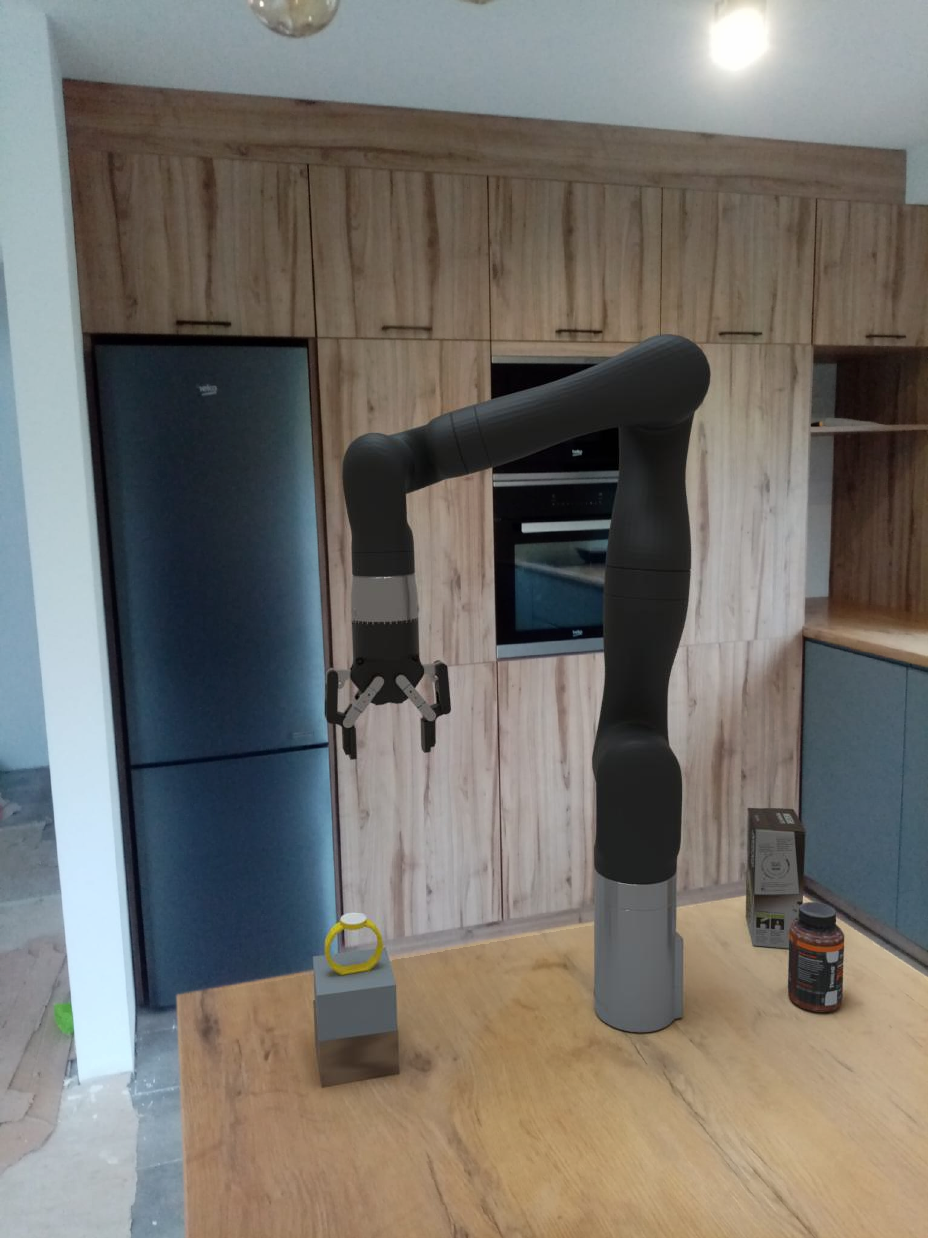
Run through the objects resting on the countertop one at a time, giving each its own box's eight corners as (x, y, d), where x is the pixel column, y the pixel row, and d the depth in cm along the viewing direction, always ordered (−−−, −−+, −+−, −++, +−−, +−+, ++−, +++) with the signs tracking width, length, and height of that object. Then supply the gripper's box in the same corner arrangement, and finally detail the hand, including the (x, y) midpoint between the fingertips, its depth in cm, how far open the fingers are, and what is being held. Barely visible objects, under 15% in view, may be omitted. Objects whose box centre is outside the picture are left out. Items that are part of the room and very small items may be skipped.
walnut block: (386, 1031, 99) (385, 989, 99) (399, 1075, 92) (397, 1030, 91) (315, 1043, 98) (313, 1000, 97) (321, 1088, 90) (319, 1042, 89)
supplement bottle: (848, 1017, 100) (851, 922, 99) (792, 1013, 101) (795, 919, 100) (835, 989, 106) (838, 899, 105) (783, 985, 107) (785, 896, 106)
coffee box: (803, 950, 115) (807, 831, 113) (751, 947, 116) (754, 829, 114) (792, 918, 124) (795, 807, 122) (744, 915, 125) (746, 805, 123)
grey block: (387, 989, 99) (385, 947, 98) (397, 1030, 91) (396, 984, 90) (314, 999, 97) (312, 956, 96) (319, 1042, 89) (316, 995, 89)
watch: (378, 962, 96) (380, 909, 95) (383, 975, 93) (385, 921, 92) (322, 967, 94) (324, 914, 93) (326, 981, 91) (328, 926, 91)
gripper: (439, 608, 105) (442, 741, 107) (318, 614, 102) (324, 751, 104) (454, 615, 98) (457, 757, 100) (324, 622, 94) (330, 769, 96)
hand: (389, 754), depth 102 cm, fingers open, 8 cm apart
